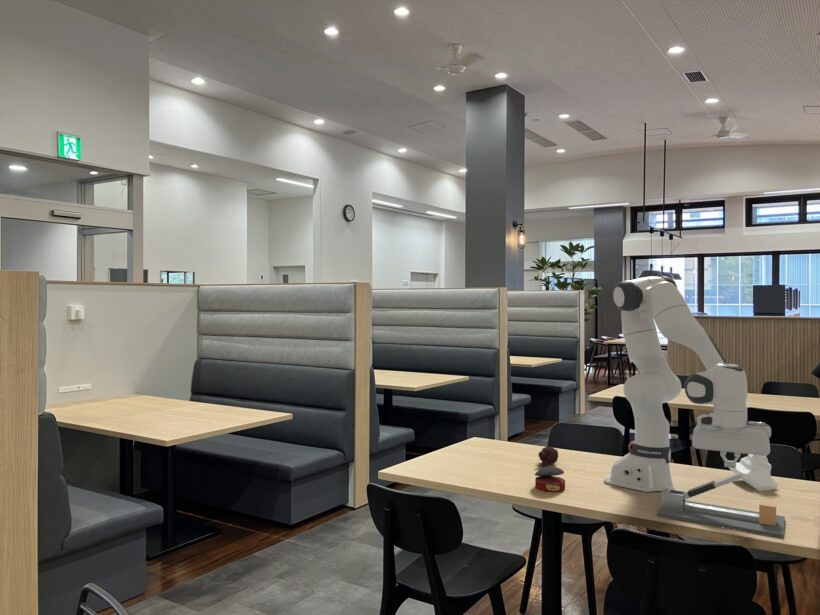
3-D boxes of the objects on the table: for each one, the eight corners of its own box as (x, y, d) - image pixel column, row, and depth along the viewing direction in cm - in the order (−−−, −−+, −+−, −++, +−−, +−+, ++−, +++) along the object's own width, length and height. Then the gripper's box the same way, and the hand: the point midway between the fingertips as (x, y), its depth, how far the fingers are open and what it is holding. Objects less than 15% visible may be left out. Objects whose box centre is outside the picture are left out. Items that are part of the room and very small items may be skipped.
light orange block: (759, 523, 180) (759, 504, 180) (760, 518, 185) (760, 500, 185) (775, 525, 178) (775, 507, 178) (776, 520, 183) (776, 502, 183)
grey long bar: (661, 507, 194) (661, 492, 194) (664, 502, 198) (664, 487, 198) (775, 526, 178) (775, 510, 178) (776, 520, 183) (776, 505, 183)
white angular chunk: (761, 484, 231) (774, 447, 229) (777, 500, 216) (791, 461, 214) (725, 473, 233) (738, 437, 231) (739, 488, 218) (753, 449, 216)
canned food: (536, 503, 214) (523, 475, 216) (549, 493, 222) (536, 466, 224) (564, 494, 207) (550, 465, 209) (576, 484, 215) (563, 456, 217)
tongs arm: (674, 504, 193) (671, 498, 193) (676, 501, 196) (673, 495, 196) (743, 478, 183) (739, 472, 184) (743, 476, 186) (740, 470, 187)
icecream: (546, 442, 258) (529, 452, 246) (563, 440, 253) (547, 450, 241) (550, 459, 257) (534, 470, 245) (567, 457, 253) (551, 468, 241)
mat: (657, 516, 188) (657, 512, 188) (667, 500, 204) (668, 497, 204) (783, 538, 172) (783, 534, 172) (784, 519, 187) (784, 516, 187)
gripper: (771, 421, 184) (771, 469, 184) (694, 415, 194) (694, 460, 194) (770, 424, 178) (770, 474, 178) (691, 417, 189) (691, 465, 189)
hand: (730, 467), depth 186 cm, fingers closed
